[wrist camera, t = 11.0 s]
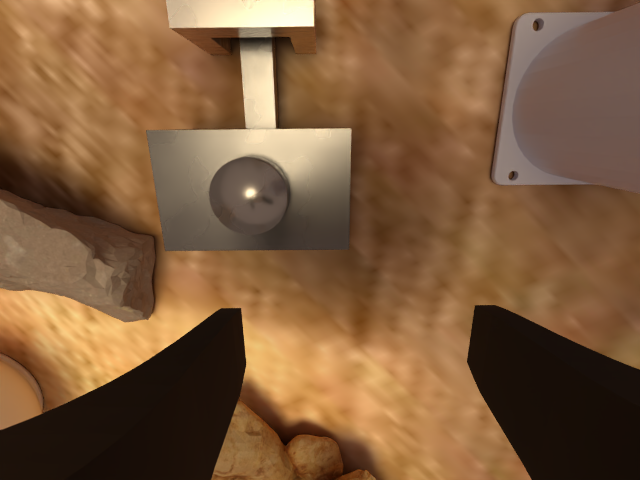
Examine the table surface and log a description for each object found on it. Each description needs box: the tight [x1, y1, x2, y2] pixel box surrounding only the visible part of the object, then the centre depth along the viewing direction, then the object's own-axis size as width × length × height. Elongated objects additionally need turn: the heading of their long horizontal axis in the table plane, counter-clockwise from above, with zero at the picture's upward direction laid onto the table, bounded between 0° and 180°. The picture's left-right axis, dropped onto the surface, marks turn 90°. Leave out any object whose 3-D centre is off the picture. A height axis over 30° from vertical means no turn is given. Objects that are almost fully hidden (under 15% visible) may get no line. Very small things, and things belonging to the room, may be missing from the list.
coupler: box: [146, 37, 351, 251], centre depth 15 cm, size 8×14×6 cm, turn 0°
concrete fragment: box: [0, 189, 156, 322], centre depth 17 cm, size 7×14×6 cm, turn 53°
